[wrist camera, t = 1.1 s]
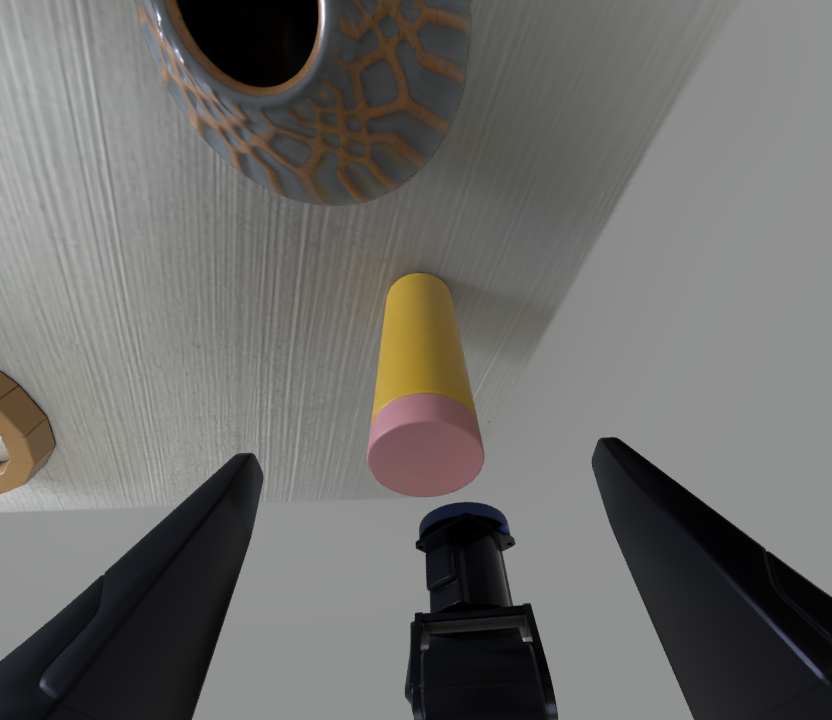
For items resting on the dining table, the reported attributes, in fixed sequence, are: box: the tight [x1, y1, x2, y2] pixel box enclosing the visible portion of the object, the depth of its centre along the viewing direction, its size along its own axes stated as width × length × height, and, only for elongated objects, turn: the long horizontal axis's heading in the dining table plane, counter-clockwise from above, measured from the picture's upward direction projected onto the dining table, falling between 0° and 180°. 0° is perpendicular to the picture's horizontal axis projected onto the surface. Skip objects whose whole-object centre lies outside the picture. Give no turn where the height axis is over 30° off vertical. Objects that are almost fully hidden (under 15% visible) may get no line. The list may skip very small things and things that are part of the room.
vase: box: [135, 0, 471, 206], centre depth 8 cm, size 7×7×9 cm
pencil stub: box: [367, 273, 484, 497], centre depth 13 cm, size 3×3×9 cm
